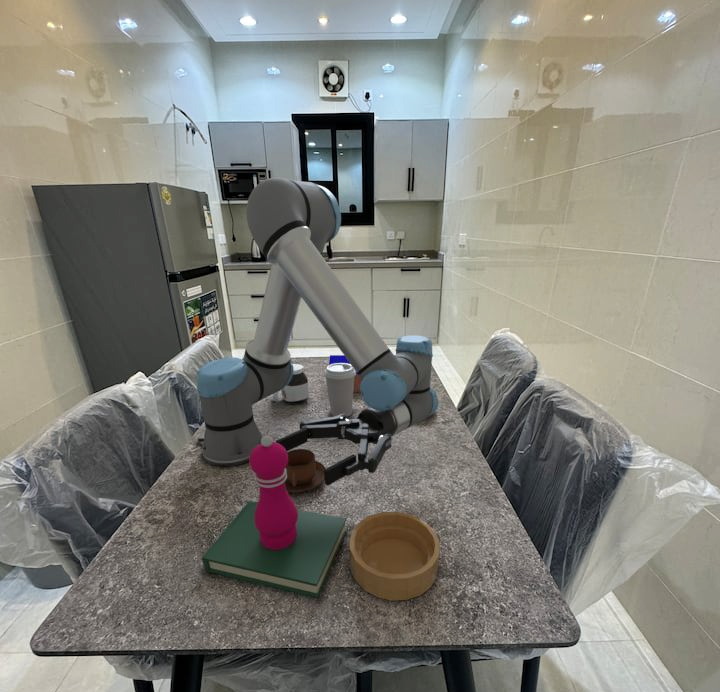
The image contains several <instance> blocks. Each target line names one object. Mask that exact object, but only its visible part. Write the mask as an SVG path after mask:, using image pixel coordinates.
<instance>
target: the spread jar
mask: <svg viewBox="0 0 720 692" xmlns="http://www.w3.org/2000/svg"><path fill="white" fill-rule="evenodd" d="M291 364H292V365H293V376H292V379H291V381H290V382H289V383H288V384H287V385H286V386H285V387H284V388H283V389H281V390H280V391H281V396H282V399H283V400H284V402H285V403H286V404H289V405H299V404H303V403H305V402H306V401H307V400H309V398H310V389H309V388H310V387H309V380H308V377H307V375H306V373H305V372H304V371H305V370H304V365H303V364H300V363H291ZM280 391H278V392H276V393H274V394H272V395H271V401H273V402H277V400H278V396H279V392H280Z"/></svg>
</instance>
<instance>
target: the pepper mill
mask: <svg viewBox="0 0 720 692" xmlns="http://www.w3.org/2000/svg"><path fill="white" fill-rule="evenodd" d="M287 452H288V451H286V449H285V448H284V447H283V446H282V445H280V444H279V443H276V441H273V438H272V437H271V435H263V437H262V439H261V444H259V445H257V446H256V447H255V448H254V449H253V450H252V452H251V454H250V457H249V461H248V462H249V467H250V470H251V471H252V472H253V473H254V478H255V480H254V481H255V484H256V485H257V486H258V487H259V498H258V501H257V502H258V504H257V507H256V510H255V516H254V520H255V526H256V528H257V529H258V530H259V531H260V540H261V543H262V545H263V546H264V547H266V548H268V549H270V550H280V549H283V548H286V547H288V546H290V545H291V544H292V543H293V542H294V541H295V539H296V537H297V529H296V522H297V520H298V512H297V510H298V509H297V508H298V507H297V505H296V503H295V501H294V500H293V499H292V497H291V496H290V494H289V492H288V491H287V490H286V486H285V480H286V479H287V474H286V473H287V470H286V466H287V464H288V454H287Z"/></svg>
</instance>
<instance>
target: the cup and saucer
mask: <svg viewBox="0 0 720 692" xmlns="http://www.w3.org/2000/svg"><path fill="white" fill-rule="evenodd" d="M287 454H288V464H287V466H286V470H287V473H286V474H287V479H286V480H285V486H286V490H287V492H288V493H303V492H307V491H311V490H314V489H315V488H317V487H318V486H320V485H321V484H322V483H323V482H325V481H324V469H326V468H327V467H326V466H325V465H324V464H323V463H321V462H320V461H317V460H316V455H315V453H314V452H313V451H311V450H310V449H307V448H306V449H305V448H294V449H291V450H289V451H287Z"/></svg>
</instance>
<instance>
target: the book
mask: <svg viewBox="0 0 720 692" xmlns="http://www.w3.org/2000/svg"><path fill="white" fill-rule="evenodd" d="M257 504H258V501H253V500H249V501H248V502H247V503H246V504H245V505H244V507H243V508H242V509H241V510H240V511H239V513H238V514H237V515H236V516H235V517H234V519H233V520H232V521H231V522H230V523H229V525H228V526H227V527H226V528H225V530H223V532H222V533H221V534H220V535H219V536H218V538H217V539H216V540H215V541H214V542H213V544H212V545H211V546H210V547H209V548H208V550H207V551H206V552H205V553H203V554H204V555H202V556H201V560H202V564H203V568H204V571H205V572H208V573H212V574H216V575H221V576H224V577H229V578H232V579H236V580H241V581H244V582H249V583H254V584H257V585H261V586H266V587H270V588H274V589H278V590H282V591H287V592H290V593H295V594H298V595H304V596H308V597H311V598H316V599H318V598H319V596H320V594H321V592H322V590H323V587H324V585H325V583H326V580H327V578H328V576H329V573H330V571H331V568H332V566H333V564H334V561H335V559H336V557H337V555H338V552H339V550H340V548H341V546H342V544H343V541H344V539H345V536H346V534H347V532H348V529H347V528H346V522H347V517H341V516H335V515H331V514H330V515H329V514H325V513H318V512H313V511H308V510H303V509H297V512H298V520H297V522H296V529H297V537H296V539H295V541H294V542H293V543H292V544H291V545H290V546H288V547H286V548H283V549H280V550H270V549H268V548H266V547H264V546H263V545H262V543H261V540H260V531H259V530H258V529H257V528H256V526H255V520H254V516H255V510H256V507H257Z"/></svg>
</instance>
